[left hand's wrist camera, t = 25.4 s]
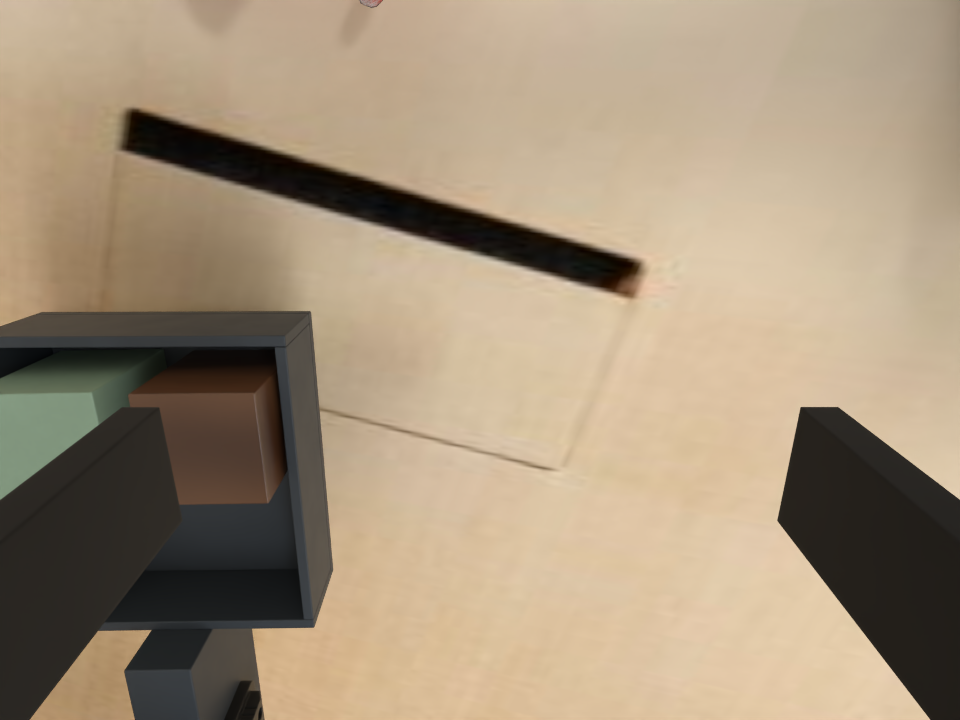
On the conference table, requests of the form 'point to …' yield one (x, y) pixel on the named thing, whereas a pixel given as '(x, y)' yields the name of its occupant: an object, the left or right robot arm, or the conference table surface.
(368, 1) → the red white curved piece
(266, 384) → the walnut block
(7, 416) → the sage block
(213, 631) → the tote
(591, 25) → the conference table surface
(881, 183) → the conference table surface
